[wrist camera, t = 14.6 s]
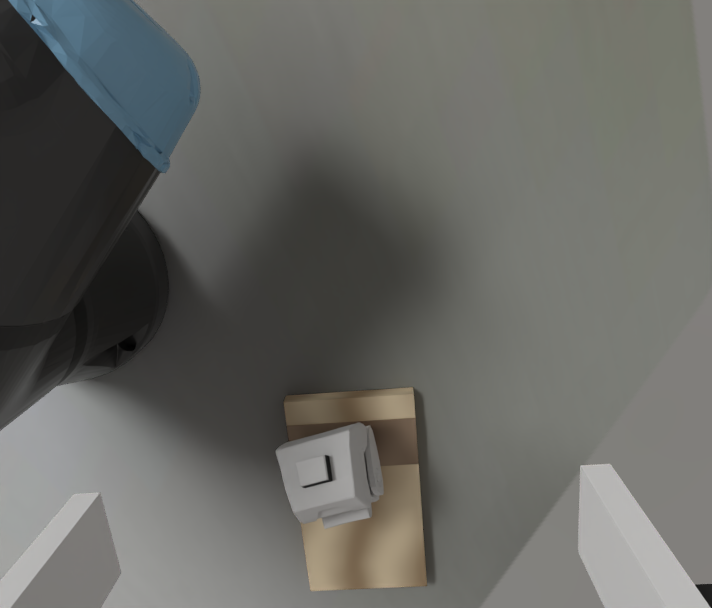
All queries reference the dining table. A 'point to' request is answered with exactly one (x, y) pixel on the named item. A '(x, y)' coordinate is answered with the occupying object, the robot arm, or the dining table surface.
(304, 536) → the plywood panel
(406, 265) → the dining table surface
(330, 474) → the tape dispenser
